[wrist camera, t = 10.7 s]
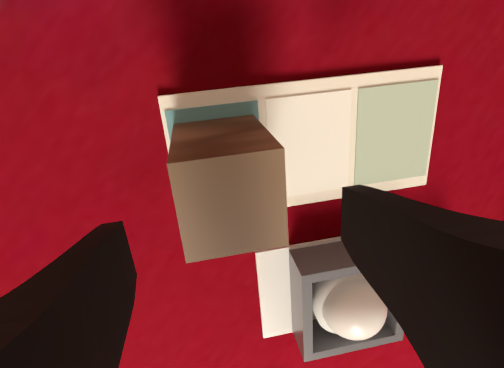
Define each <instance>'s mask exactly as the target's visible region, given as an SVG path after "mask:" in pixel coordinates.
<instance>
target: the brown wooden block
mask: <svg viewBox="0 0 504 368" xmlns="http://www.w3.org/2000/svg"><path fill="white" fill-rule="evenodd" d="M167 168H168V173H169V178H170V183H171V188H172V193H173V198H174V203H175V209H176V214H177V219H178V224H179V229H180V234H181V239H182V244H183V250H184V255H185V260H186V263H191V262H197V261H202V260H208V259H214V258H220V257H225V256H231V255H237V254H242V253H248V252H254V251H260V250H265V249H271V248H277V247H283V246H288V245H289V241H288V217H287V194H286V171H285V148H284V147H283V146H282V145H281V144H280V143H279V142H278V141H277V140H276V138H275V137H274V136H273V135H272V134H271V133H270V132H269V131H268V130H267V129H266V128H265V127H264V126H263V125H262V123H261V122H260V121H259V120H258V119H257V118H256V117H255V116H254V115H244V116H236V117H227V118H219V119H211V120H202V121H194V122H185V123H177V124H173V129H172V135H171V141H170V147H169V154H168V160H167Z"/></svg>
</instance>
